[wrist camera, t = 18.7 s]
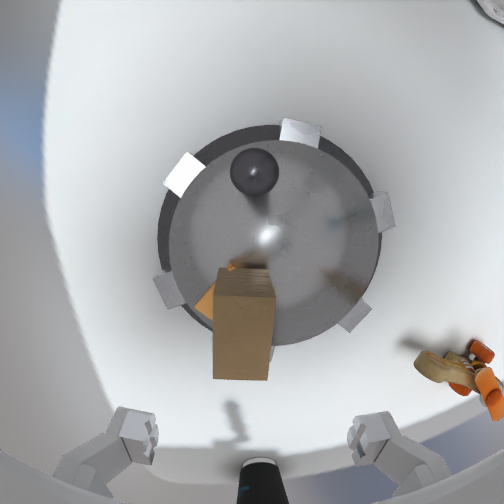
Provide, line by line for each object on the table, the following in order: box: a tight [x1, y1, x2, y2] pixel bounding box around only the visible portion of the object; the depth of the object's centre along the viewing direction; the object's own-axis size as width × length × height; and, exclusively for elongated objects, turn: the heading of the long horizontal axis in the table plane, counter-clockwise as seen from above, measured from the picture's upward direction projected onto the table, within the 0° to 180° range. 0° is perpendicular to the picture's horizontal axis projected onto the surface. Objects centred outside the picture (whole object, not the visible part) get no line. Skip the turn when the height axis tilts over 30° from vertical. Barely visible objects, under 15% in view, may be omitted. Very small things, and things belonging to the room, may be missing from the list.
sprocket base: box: [157, 125, 382, 332], centre depth 24 cm, size 19×19×1 cm
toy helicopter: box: [414, 341, 504, 421], centre depth 23 cm, size 7×18×12 cm, turn 67°
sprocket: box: [153, 118, 395, 361], centre depth 19 cm, size 18×19×8 cm
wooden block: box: [213, 267, 276, 380], centre depth 19 cm, size 6×4×5 cm, turn 177°
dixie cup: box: [237, 457, 289, 504], centre depth 27 cm, size 8×8×11 cm
